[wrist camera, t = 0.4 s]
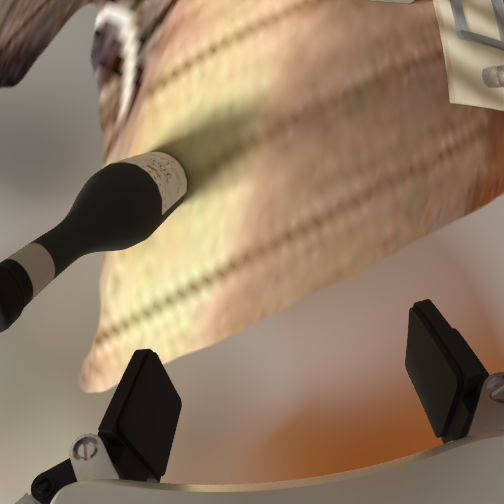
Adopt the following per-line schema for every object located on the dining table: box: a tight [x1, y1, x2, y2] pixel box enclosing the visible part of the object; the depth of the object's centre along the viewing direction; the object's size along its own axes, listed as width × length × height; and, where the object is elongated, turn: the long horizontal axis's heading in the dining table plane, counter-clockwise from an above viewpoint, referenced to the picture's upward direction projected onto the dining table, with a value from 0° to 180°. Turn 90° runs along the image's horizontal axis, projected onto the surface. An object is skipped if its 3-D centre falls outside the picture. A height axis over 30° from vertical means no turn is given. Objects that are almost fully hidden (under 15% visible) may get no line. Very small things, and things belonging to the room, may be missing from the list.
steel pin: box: [482, 65, 504, 88], centre depth 26 cm, size 3×3×6 cm
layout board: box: [433, 0, 504, 111], centre depth 27 cm, size 20×14×3 cm
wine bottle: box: [0, 151, 188, 332], centre depth 25 cm, size 8×8×30 cm
